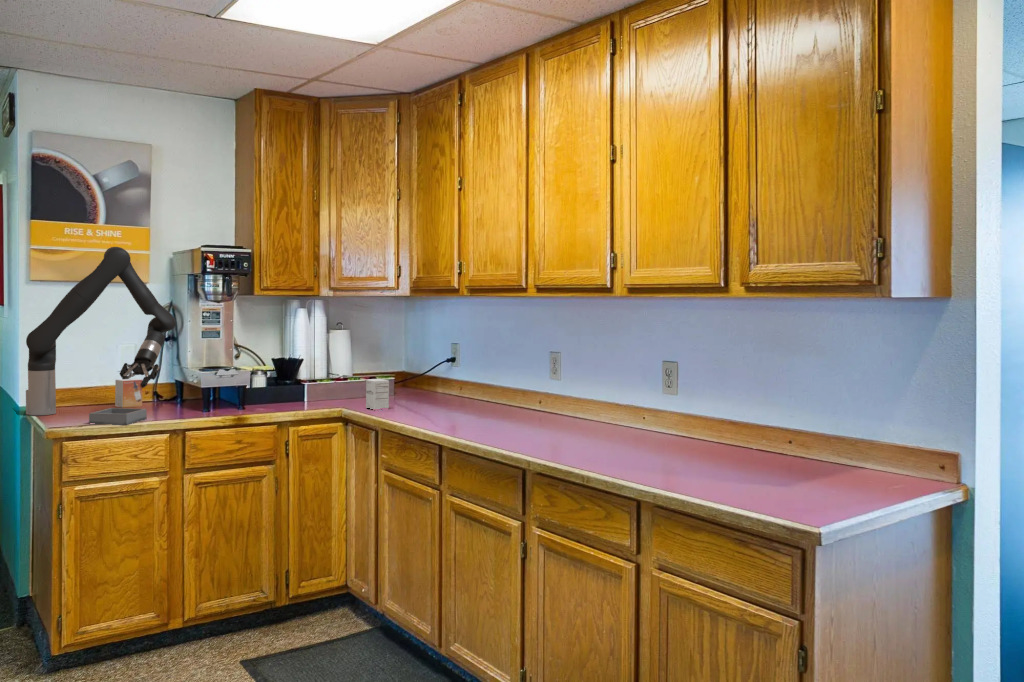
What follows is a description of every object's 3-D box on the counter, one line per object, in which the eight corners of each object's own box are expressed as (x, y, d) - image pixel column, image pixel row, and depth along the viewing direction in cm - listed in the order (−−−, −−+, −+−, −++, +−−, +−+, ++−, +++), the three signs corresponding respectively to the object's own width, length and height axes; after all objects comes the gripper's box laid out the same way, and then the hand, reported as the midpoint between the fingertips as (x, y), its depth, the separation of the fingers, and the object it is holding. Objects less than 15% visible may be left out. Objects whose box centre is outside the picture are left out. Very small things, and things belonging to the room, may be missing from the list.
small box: (122, 408, 306) (122, 380, 305) (114, 406, 309) (114, 379, 309) (142, 406, 312) (142, 379, 312) (135, 404, 316) (135, 378, 315)
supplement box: (365, 408, 341) (365, 379, 340) (381, 407, 346) (381, 378, 345) (373, 411, 335) (373, 380, 335) (389, 409, 340) (389, 380, 339)
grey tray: (89, 424, 291) (89, 413, 291) (110, 418, 305) (110, 407, 305) (126, 425, 291) (126, 414, 290) (146, 419, 304) (146, 408, 304)
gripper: (127, 347, 320) (110, 379, 309) (162, 348, 319) (147, 380, 308) (134, 359, 326) (118, 391, 315) (168, 360, 325) (154, 392, 314)
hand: (132, 385), depth 311 cm, fingers closed on small box, 7 cm apart
